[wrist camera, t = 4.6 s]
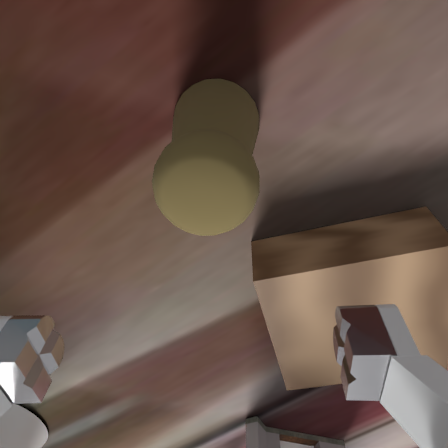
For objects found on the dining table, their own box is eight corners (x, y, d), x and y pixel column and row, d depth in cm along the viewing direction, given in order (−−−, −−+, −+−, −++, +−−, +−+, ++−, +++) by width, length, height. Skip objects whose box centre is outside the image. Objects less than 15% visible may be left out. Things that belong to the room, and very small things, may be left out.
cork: (265, 155, 27) (279, 245, 18) (186, 170, 28) (159, 263, 18) (251, 68, 24) (259, 123, 14) (162, 89, 24) (115, 152, 15)
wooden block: (281, 346, 38) (286, 390, 34) (251, 241, 31) (253, 281, 27) (422, 325, 36) (447, 370, 32) (426, 206, 29) (457, 244, 24)
